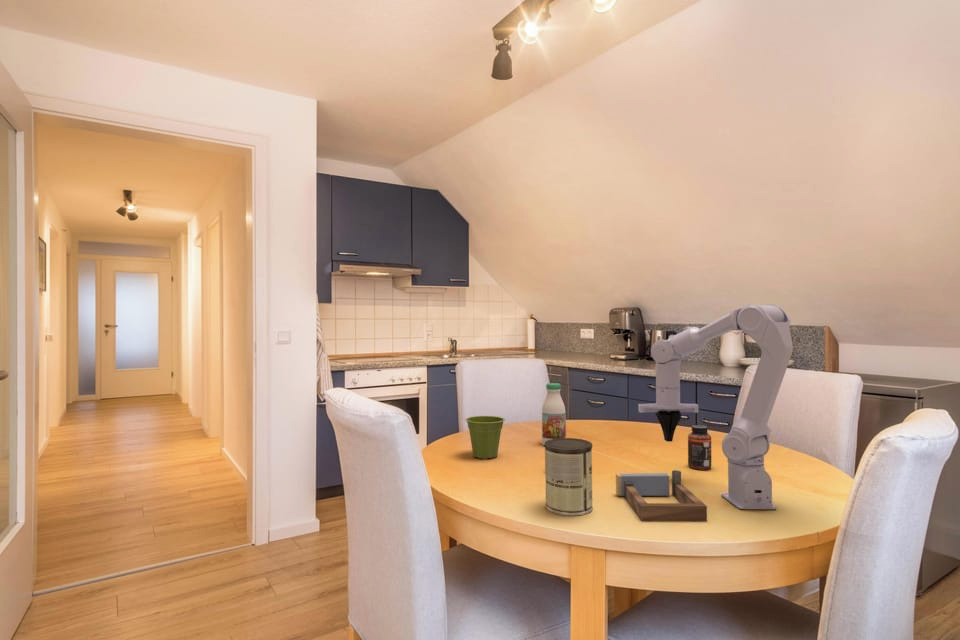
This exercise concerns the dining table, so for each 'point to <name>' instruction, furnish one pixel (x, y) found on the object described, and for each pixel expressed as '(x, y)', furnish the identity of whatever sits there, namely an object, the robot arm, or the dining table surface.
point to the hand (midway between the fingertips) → (668, 440)
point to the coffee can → (568, 476)
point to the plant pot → (485, 435)
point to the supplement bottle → (699, 448)
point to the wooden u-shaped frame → (668, 504)
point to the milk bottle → (553, 414)
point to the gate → (644, 484)
